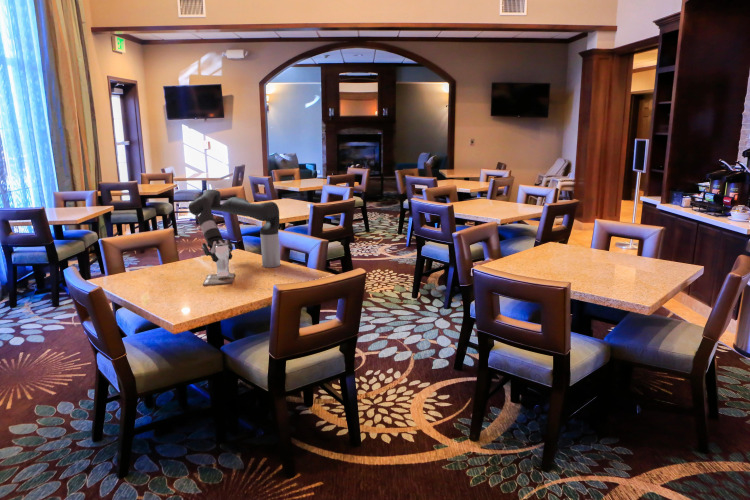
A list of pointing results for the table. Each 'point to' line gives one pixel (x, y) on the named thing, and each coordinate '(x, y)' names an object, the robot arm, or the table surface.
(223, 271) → the beer glass
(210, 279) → the board
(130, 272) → the table surface
